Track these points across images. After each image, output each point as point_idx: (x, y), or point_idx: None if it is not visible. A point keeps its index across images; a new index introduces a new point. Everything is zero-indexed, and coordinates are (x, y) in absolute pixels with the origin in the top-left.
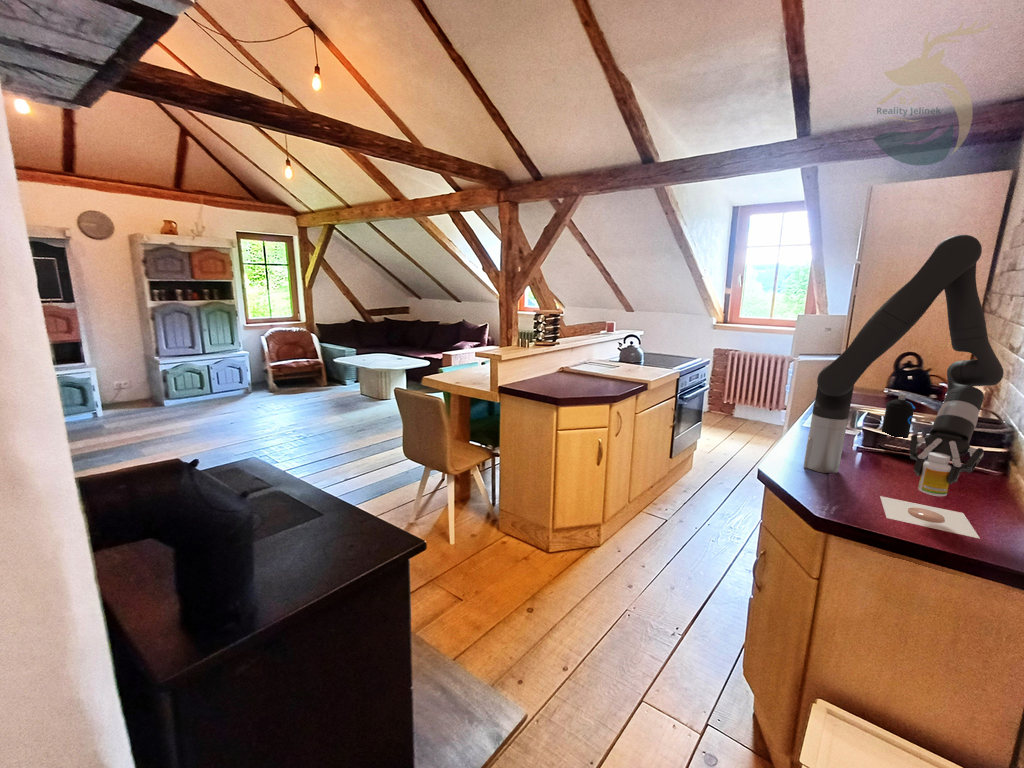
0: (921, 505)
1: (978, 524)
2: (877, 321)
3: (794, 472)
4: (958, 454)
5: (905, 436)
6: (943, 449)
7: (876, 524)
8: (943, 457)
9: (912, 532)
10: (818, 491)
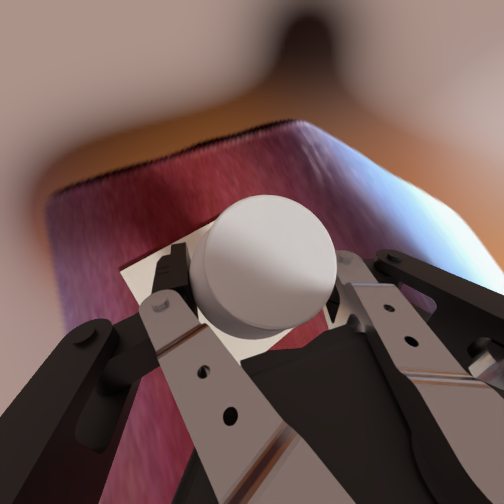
0: (265, 342)
1: (156, 380)
2: None
3: (451, 261)
4: (168, 374)
5: None
6: (323, 382)
7: (251, 168)
8: (228, 211)
9: (207, 191)
10: (373, 214)
